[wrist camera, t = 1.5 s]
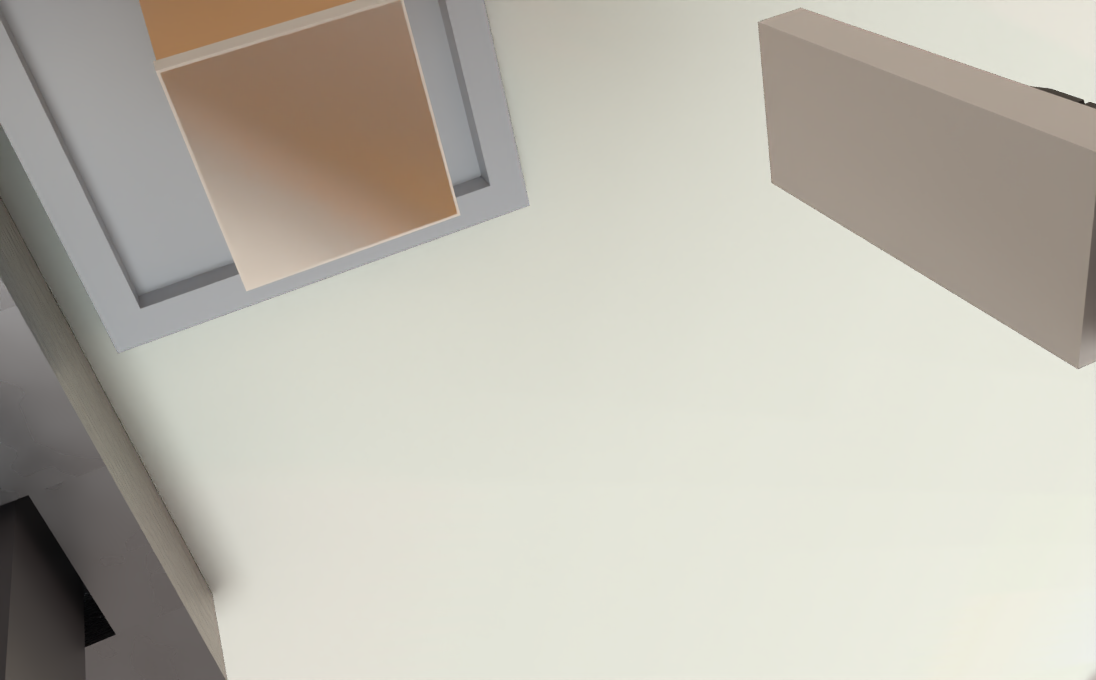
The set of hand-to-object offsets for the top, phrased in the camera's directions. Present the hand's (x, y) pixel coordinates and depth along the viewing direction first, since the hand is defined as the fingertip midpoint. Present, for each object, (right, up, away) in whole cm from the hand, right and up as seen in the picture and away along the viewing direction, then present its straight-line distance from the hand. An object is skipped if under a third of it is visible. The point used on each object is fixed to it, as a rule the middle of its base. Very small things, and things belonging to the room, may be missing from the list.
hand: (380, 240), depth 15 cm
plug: (-5, +6, +11) cm, 14 cm away
